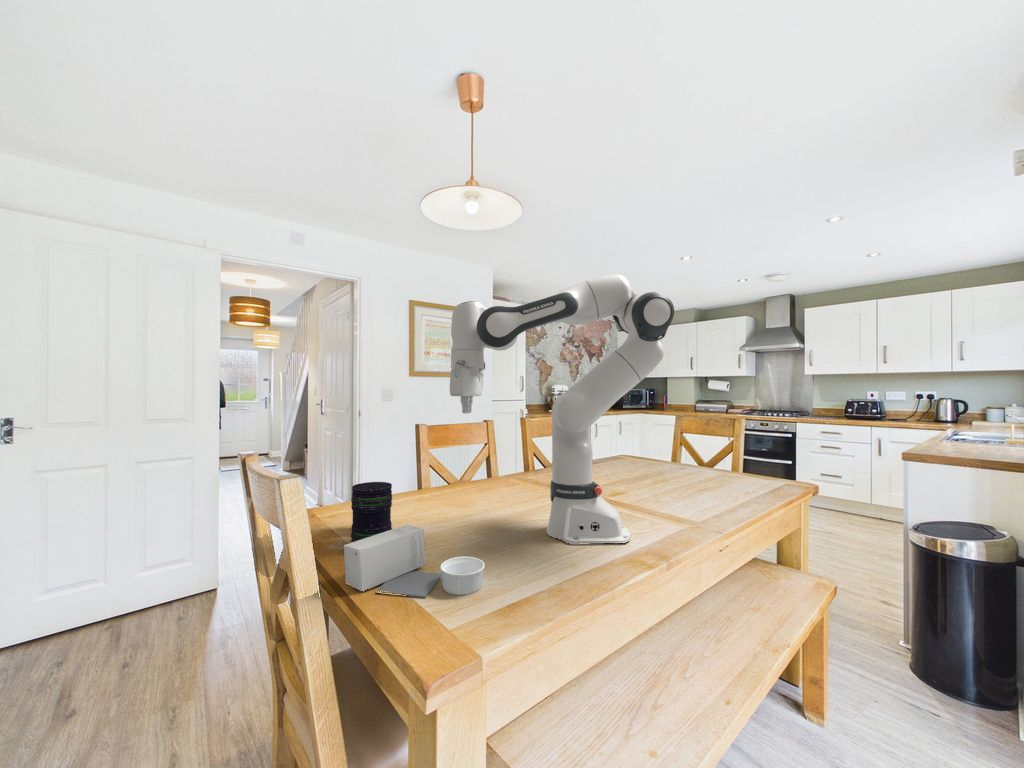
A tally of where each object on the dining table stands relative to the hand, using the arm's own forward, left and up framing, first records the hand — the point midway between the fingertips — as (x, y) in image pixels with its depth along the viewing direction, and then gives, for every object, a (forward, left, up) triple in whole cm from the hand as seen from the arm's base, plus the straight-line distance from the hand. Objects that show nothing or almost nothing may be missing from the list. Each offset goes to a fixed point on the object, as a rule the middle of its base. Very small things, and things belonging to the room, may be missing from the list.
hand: (466, 413), depth 113 cm
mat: (+3, +29, -33) cm, 44 cm away
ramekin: (-7, +28, -34) cm, 44 cm away
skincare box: (+6, +20, -29) cm, 35 cm away
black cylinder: (+22, +10, -33) cm, 41 cm away
